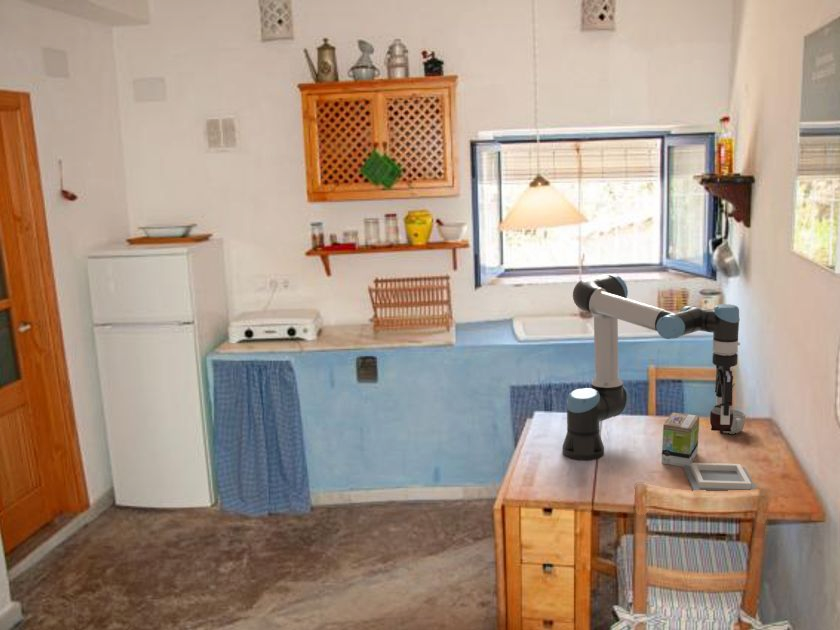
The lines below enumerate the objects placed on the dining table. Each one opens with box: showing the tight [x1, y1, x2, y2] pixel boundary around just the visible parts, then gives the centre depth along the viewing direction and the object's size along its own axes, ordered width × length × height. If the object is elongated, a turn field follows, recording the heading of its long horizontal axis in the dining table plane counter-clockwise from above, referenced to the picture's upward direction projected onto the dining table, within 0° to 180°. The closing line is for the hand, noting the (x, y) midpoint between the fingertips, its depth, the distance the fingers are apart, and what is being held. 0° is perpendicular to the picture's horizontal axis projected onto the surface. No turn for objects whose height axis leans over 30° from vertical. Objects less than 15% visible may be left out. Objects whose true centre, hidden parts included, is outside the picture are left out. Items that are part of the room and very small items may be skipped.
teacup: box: [723, 408, 747, 435], centre depth 304 cm, size 14×11×8 cm
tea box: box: [661, 412, 700, 468], centre depth 281 cm, size 15×10×15 cm, turn 151°
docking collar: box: [683, 462, 758, 491], centre depth 262 cm, size 20×20×3 cm
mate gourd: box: [709, 383, 736, 435], centre depth 257 cm, size 8×8×15 cm
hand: (722, 419), depth 258 cm, fingers closed on mate gourd, 7 cm apart
